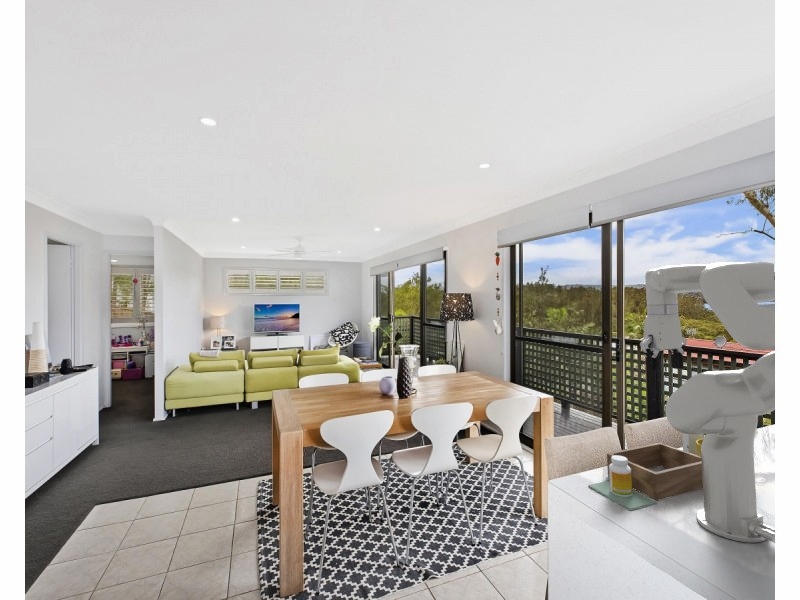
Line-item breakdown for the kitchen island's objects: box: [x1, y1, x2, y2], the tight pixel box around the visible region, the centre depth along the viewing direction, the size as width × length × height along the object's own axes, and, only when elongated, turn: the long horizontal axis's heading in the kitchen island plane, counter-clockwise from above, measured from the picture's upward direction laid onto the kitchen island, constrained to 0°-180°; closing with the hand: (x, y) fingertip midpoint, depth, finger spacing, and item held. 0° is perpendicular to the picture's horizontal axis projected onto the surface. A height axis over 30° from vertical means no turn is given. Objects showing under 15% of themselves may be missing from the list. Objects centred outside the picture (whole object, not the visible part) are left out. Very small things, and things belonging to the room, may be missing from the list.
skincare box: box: [682, 433, 705, 456], centre depth 126 cm, size 6×4×12 cm
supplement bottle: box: [609, 455, 633, 497], centre depth 107 cm, size 5×5×10 cm
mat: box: [587, 479, 658, 511], centre depth 107 cm, size 14×9×1 cm, turn 18°
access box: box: [606, 442, 703, 502], centre depth 114 cm, size 16×22×7 cm
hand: (665, 369), depth 112 cm, fingers open, 9 cm apart
